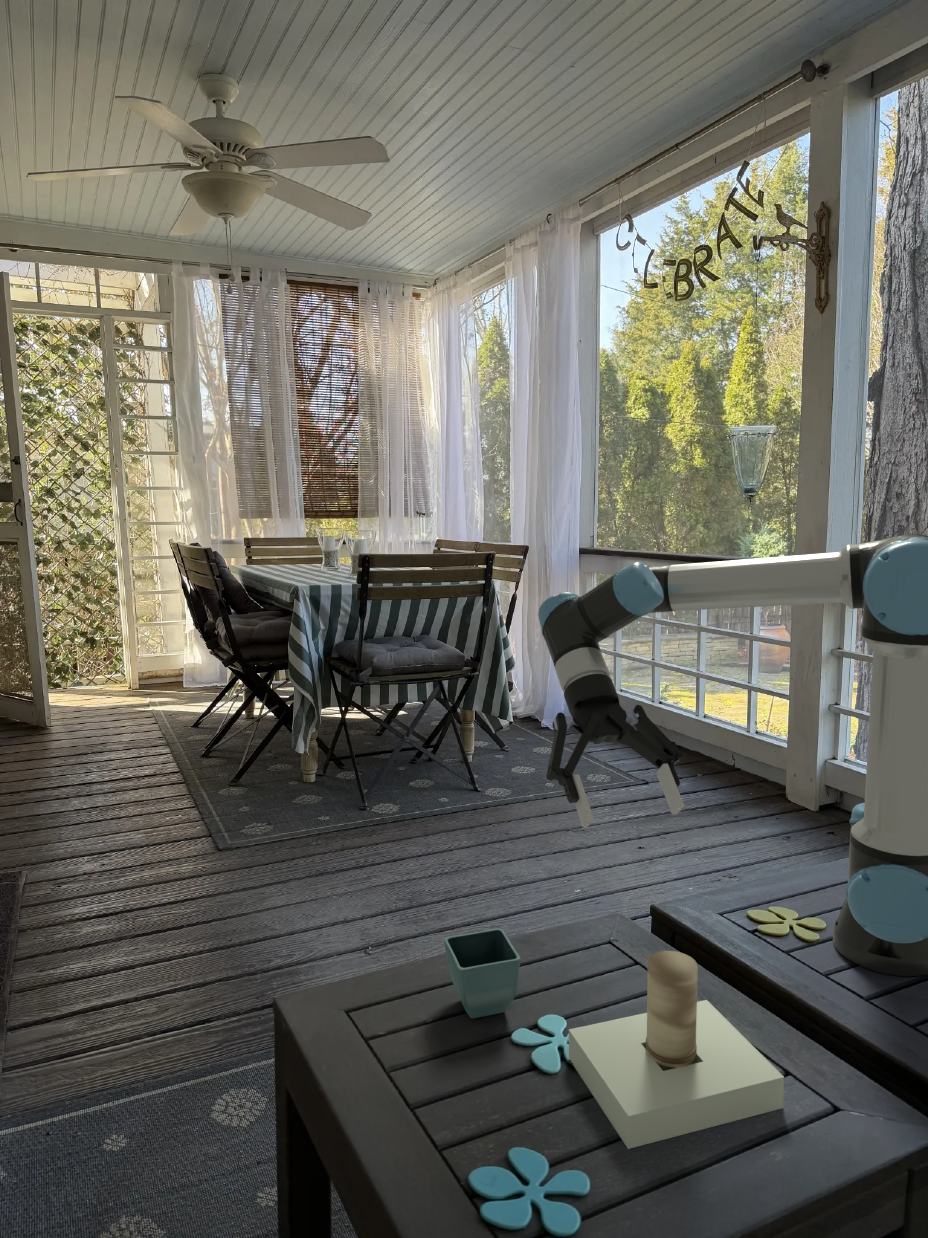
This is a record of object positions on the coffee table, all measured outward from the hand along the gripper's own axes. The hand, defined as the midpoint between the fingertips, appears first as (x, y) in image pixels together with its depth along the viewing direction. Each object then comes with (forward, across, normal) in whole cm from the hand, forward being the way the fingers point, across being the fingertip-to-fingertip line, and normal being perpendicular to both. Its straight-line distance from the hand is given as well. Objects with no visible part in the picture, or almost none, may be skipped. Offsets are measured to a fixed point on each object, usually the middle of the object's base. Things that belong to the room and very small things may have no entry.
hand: (634, 817), depth 116 cm
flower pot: (+15, +20, -24) cm, 35 cm away
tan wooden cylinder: (+30, +3, -8) cm, 31 cm away
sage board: (+31, +3, -8) cm, 32 cm away
